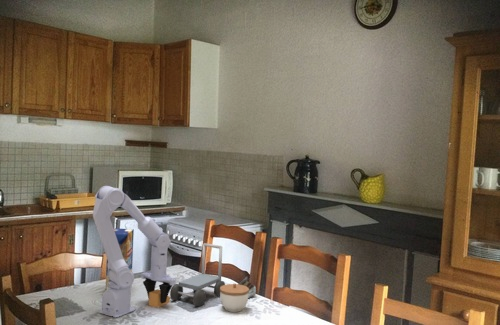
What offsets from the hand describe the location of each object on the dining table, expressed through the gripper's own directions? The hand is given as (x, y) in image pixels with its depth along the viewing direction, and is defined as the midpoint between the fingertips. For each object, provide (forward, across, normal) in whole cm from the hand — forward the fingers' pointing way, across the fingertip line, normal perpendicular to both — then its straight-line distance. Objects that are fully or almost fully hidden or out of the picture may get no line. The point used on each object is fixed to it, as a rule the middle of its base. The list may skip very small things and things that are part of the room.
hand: (157, 300), depth 174 cm
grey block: (+2, -21, -28) cm, 35 cm away
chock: (+2, 0, -1) cm, 2 cm away
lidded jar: (+2, -25, -13) cm, 28 cm away
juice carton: (+2, +22, -3) cm, 22 cm away
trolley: (+1, -8, -16) cm, 18 cm away
